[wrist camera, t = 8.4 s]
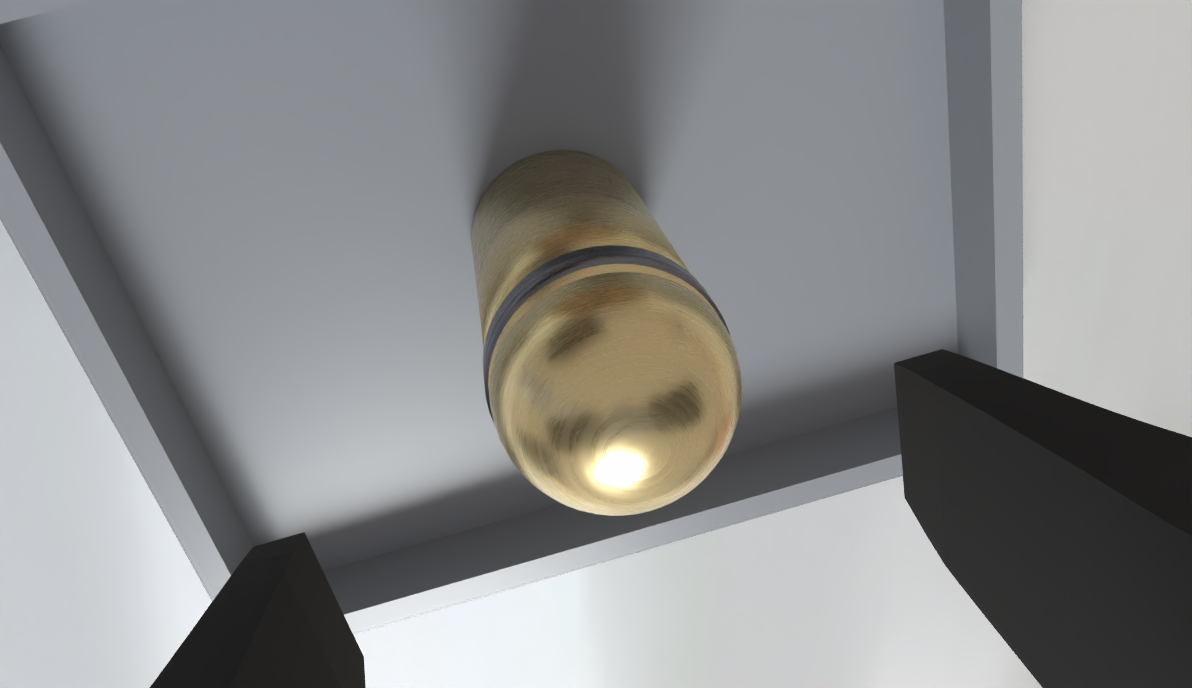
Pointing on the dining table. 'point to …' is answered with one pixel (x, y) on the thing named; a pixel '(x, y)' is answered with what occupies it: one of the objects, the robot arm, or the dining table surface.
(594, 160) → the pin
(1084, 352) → the dining table surface
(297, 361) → the tray
